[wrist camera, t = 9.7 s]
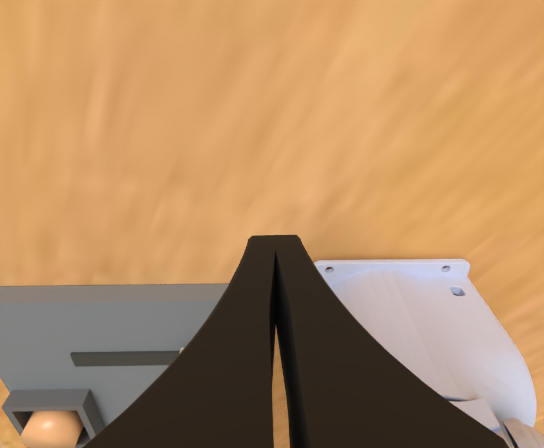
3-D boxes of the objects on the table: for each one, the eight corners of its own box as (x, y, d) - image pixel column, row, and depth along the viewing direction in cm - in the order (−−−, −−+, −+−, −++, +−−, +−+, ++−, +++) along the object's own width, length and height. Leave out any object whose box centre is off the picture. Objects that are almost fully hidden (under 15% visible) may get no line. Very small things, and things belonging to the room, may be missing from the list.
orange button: (79, 398, 27) (67, 426, 25) (92, 426, 29) (81, 454, 27) (28, 399, 27) (12, 427, 25) (44, 427, 29) (30, 455, 27)
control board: (262, 283, 24) (262, 316, 21) (264, 460, 35) (264, 494, 33) (-29, 286, 23) (-62, 320, 21) (72, 464, 35) (58, 498, 33)
